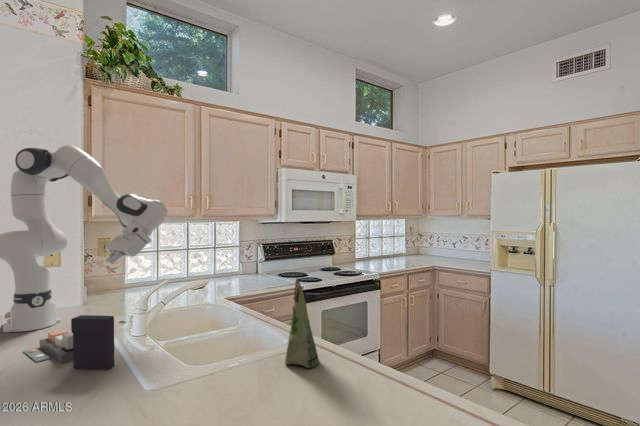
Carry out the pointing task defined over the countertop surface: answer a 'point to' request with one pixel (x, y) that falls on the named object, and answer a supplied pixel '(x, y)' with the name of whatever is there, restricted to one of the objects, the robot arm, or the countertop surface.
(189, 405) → the countertop surface
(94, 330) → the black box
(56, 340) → the cream key
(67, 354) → the keyguard frame
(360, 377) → the countertop surface
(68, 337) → the grey key
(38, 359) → the card
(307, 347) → the green tall pyramid
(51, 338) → the terracotta key
